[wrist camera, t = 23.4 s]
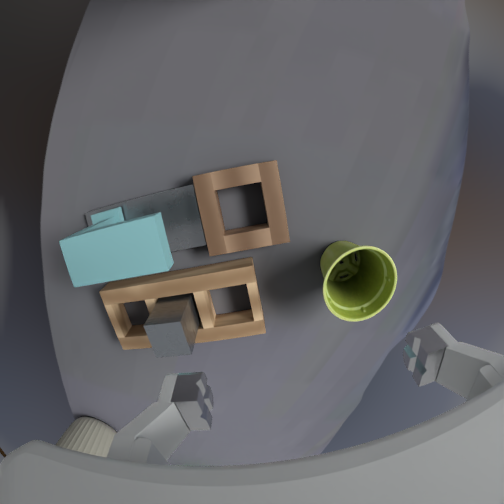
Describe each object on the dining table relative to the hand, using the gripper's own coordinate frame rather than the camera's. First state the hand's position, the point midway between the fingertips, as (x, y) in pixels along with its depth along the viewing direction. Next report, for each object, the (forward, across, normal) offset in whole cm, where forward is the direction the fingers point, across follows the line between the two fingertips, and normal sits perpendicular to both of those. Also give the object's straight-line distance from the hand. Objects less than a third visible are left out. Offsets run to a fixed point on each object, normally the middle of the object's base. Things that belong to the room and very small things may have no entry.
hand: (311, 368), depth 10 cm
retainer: (+27, +16, -1) cm, 32 cm away
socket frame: (+28, +11, -1) cm, 30 cm away
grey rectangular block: (+28, +13, +10) cm, 33 cm away
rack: (+28, +13, +11) cm, 33 cm away
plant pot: (+28, -10, +8) cm, 31 cm away
